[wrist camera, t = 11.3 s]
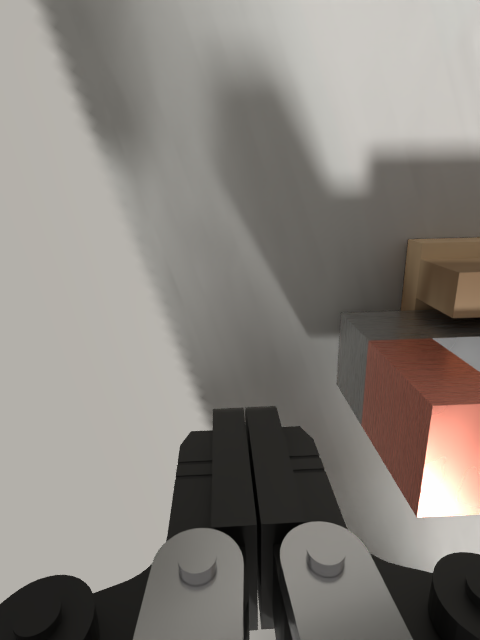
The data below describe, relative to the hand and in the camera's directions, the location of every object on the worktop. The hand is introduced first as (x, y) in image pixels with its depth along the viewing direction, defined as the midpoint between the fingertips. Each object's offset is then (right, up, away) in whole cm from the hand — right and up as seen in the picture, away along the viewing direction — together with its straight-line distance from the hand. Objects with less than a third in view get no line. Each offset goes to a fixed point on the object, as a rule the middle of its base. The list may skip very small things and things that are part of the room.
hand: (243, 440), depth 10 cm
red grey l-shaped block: (+7, +2, +6) cm, 10 cm away
